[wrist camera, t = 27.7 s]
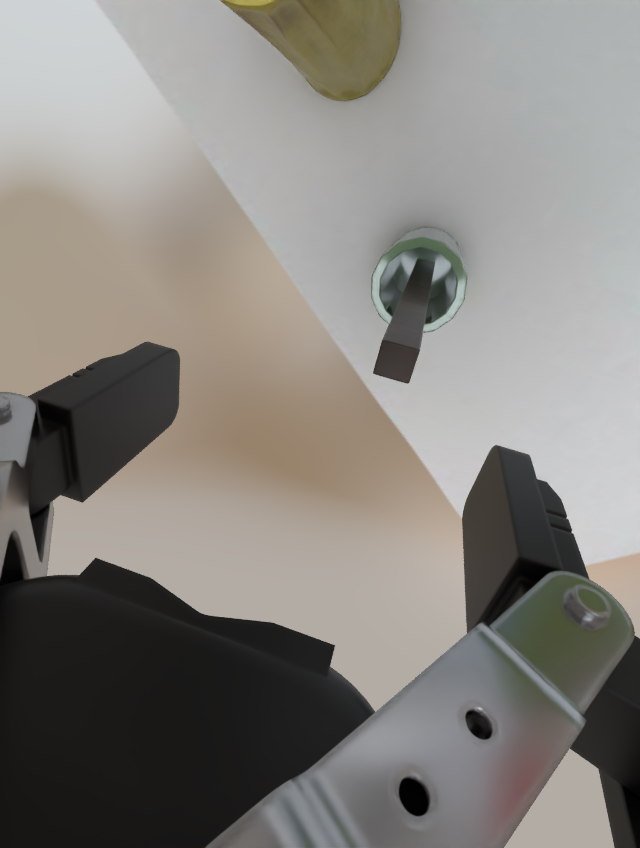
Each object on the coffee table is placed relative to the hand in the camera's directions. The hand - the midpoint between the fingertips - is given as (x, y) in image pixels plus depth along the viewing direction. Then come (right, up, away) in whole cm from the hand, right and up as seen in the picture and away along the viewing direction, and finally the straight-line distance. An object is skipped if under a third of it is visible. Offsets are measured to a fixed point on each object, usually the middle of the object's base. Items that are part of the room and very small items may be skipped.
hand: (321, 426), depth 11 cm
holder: (+7, +11, +19) cm, 23 cm away
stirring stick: (+7, +10, +18) cm, 22 cm away
